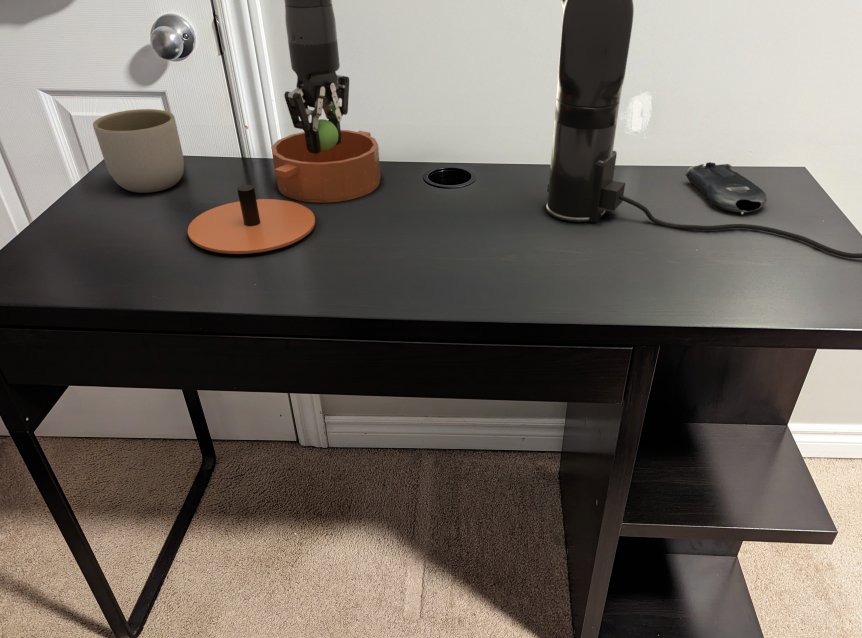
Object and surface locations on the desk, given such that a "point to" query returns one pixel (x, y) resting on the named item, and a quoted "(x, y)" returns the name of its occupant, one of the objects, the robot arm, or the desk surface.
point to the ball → (327, 135)
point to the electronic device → (726, 187)
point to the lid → (251, 224)
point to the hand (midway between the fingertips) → (324, 147)
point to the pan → (327, 168)
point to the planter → (141, 149)
